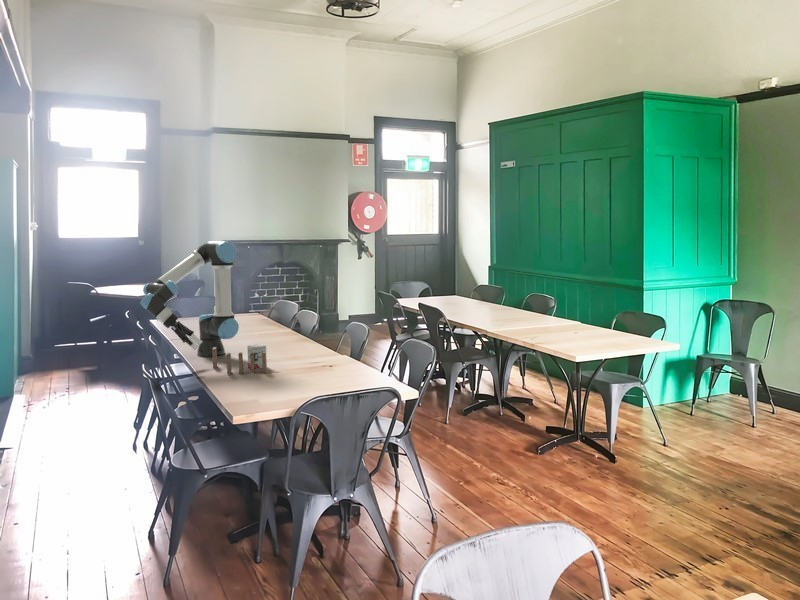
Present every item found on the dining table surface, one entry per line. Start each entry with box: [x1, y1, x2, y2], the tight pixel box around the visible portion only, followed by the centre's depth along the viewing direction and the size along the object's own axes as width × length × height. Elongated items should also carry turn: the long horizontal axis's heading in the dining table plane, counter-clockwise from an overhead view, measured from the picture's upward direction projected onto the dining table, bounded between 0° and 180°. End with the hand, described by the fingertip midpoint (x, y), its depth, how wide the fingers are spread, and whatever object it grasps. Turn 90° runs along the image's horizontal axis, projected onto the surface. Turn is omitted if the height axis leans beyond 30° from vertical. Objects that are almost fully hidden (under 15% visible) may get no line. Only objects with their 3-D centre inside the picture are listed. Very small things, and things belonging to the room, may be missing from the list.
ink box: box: [247, 343, 268, 370], centre depth 353 cm, size 9×5×12 cm, turn 126°
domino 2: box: [238, 352, 244, 375], centre depth 341 cm, size 5×2×10 cm, turn 9°
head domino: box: [211, 347, 218, 369], centre depth 356 cm, size 5×2×10 cm, turn 9°
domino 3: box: [250, 352, 256, 374], centre depth 342 cm, size 5×2×10 cm, turn 9°
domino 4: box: [262, 351, 267, 374], centre depth 343 cm, size 5×2×10 cm, turn 9°
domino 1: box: [225, 352, 232, 375], centre depth 341 cm, size 5×2×10 cm, turn 9°
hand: (198, 346), depth 353 cm, fingers open, 13 cm apart
